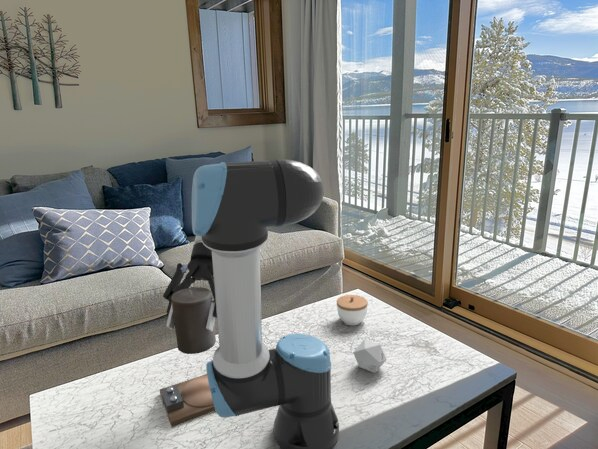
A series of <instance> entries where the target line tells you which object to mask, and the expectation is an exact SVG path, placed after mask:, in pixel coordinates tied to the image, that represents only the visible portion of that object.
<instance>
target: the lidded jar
mask: <svg viewBox="0 0 598 449" xmlns="http://www.w3.org/2000/svg"><path fill="white" fill-rule="evenodd" d="M368 304H369V303H368V300H367V298H365V297H363V296H360V295H357V294H356V295H355V294H345V295H342V296H339V297H337V300H336V308H337V309H336V310H337V315H338V317H339V318H340V319H341V321H342V322H343V323H344V324H345V325H348V326H357V325H360V324H361V322H363V321H364V320H365V319H366V316H367V312H368Z"/></svg>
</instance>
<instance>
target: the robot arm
mask: <svg viewBox="0 0 598 449" xmlns="http://www.w3.org/2000/svg"><path fill="white" fill-rule="evenodd" d="M324 193H325V190H324V184H323V180H322V179H321V176H320V175H319V173H318V172H317V171H316V170H315V169H313V168H312V167H311V166H309V165H308V164H305V163H303V162H300V161H297V160H293V159H286V158H285V159H283V158H282V159H280V158H279V159H270V160H255V161H238V162H237V161H235V162H234V161H233V162H225V161H221V162H220V163H214V164H213V163H212V164H205V165H202V166H201V165H200V166H199V167H198V168H197V169H196V170H195V172H194V174H193V177H192V187H191V227H192V228H191V229H192V233H193V235H194V236H195V239H194V240H193V243H194V244H193V246H192V250H191V255H190V260H189V262H188V263H187V264H182V263H177V264H176V270H175V272H174V275H173V276H172V278H171V280H170V282H169V283H168V286H167V287H166V290H165V291H164V293H163V295H162V296H163V298H164V299H165V300H166V301H168V305H167V307H166V314H167V315H168V317H167V322H166V325H165V327H166V328H168V329H169V330H174V329H175V325H174V316H173V308H172V299H171V298H172V295H173V294H174V293H175V292H177V291H180V290H183V289H186V288H191V286H192V284H194V283H195V282H196V281H205V282H208V286H209V287H210V291H211V292H212V293H211V295H212V297H213V299H214V302H213V301H212V302H211V306H210V311H209V316H208V321H207V326H206V329H207V330H209V331H210V332H213V327H214V326H215V323H217V331H218V332H217V333H218V335H217V336H218V347H217V348H216V349H215V351H214V352H213V356H212V360H210V361H208V362H206V365H205V367H206V368H205V369H206V374H207V377H208V382H209V387H210V391H211V396H212V400H213V404H214V407H215V410H216V411H215V413H216V415H217V416H218V417H220V418H223V419H224V418H230V417H231V418H232V417H239V416H242V415H246V414H250V413H253V412H254V413H255V412H257V411H261V410H266V409H271V408H275V407H278V409H277V412H276V416H275V419H274V420H273V421H274V422H273V437H274V441H275V443H276V444H277V445H278V447H279V448H280V449H332V448H333V447H334V446H335V445H336V443H337V442H338V439H339V436H340V435H339V434H340V423H339V418H338V416H337V413H336V410H335V408H334V406H333V404H332V382H331V380H332V378H331V377H332V376H331V372H332V370H331V369H332V362H331V356H330V354H331V353H330V349H329V347H328V345H327V344H326V343H325V342H324V341H323V340H321V339H320V338H318V337H315V336H312V335H311V334H305V333H292V334H287V335H284V336H282V337H281V338H279V339H278V341H277V344H276V345H275V348H272V349H269V348H268V346H267V345H266V344H265V342H263V333H262V326H263V324H262V295H261V292H262V291H261V290H262V289H261V288H262V286H261V284H262V283H261V254H260V249H261V247H262V246H264V244H266V242H267V241H268V240H269V237H268V236H269V234H268V232H269V231H268V230H269V228H275V227H277V228H278V227H282V226H289V225H293V224H296V223H300V222H301V221H304V220H306V219H307V218H309V217H310V216H312V215H313V214H315V212H316V211H317V210H318V209H319V207H320V206H321V203H322V201H323V198H324ZM187 271H188V272H187ZM184 274H185V275H184ZM184 276H185V277H184Z"/></svg>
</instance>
